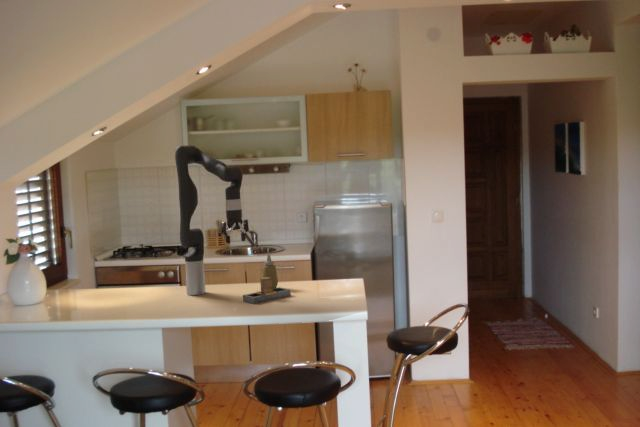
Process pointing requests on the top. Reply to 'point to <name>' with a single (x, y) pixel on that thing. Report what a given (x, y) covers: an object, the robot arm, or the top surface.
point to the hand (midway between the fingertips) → (235, 242)
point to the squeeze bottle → (270, 271)
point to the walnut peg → (266, 285)
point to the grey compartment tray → (266, 295)
